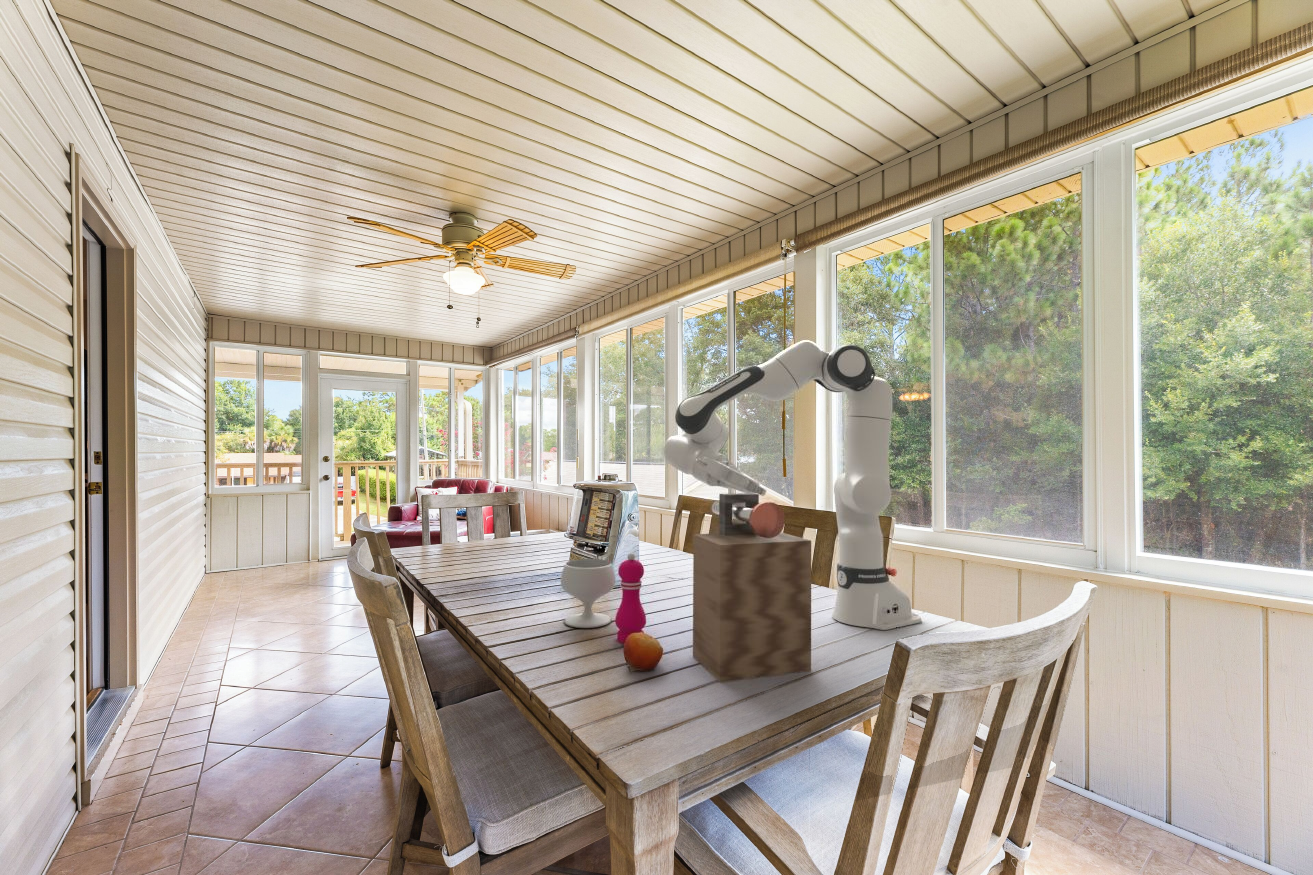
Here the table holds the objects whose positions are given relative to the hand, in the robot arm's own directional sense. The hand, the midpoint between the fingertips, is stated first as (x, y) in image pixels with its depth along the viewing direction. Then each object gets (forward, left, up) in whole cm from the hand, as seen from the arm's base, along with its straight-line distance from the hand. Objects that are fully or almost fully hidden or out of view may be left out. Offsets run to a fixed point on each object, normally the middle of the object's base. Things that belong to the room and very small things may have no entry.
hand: (755, 488), depth 136 cm
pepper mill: (+30, -4, -35) cm, 47 cm away
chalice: (+37, -20, -35) cm, 55 cm away
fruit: (+32, +13, -35) cm, 50 cm away
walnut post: (+10, +17, -35) cm, 40 cm away
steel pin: (+10, +13, -8) cm, 18 cm away
